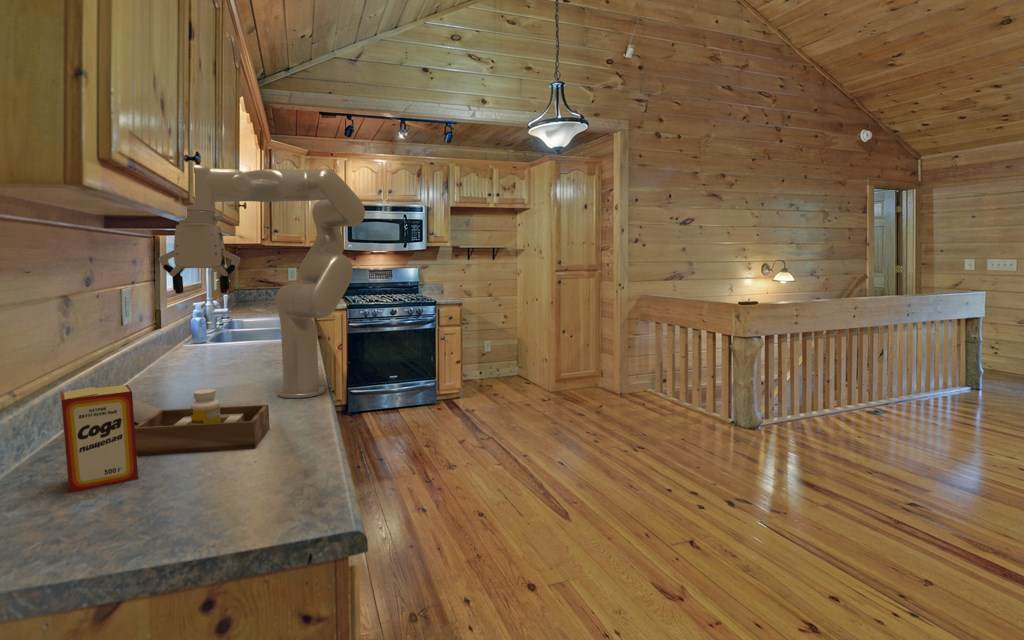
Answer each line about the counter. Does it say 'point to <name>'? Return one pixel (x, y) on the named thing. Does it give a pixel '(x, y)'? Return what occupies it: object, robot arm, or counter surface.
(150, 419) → the crate
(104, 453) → the baking soda box
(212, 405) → the supplement bottle
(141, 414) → the tube
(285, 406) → the counter surface
